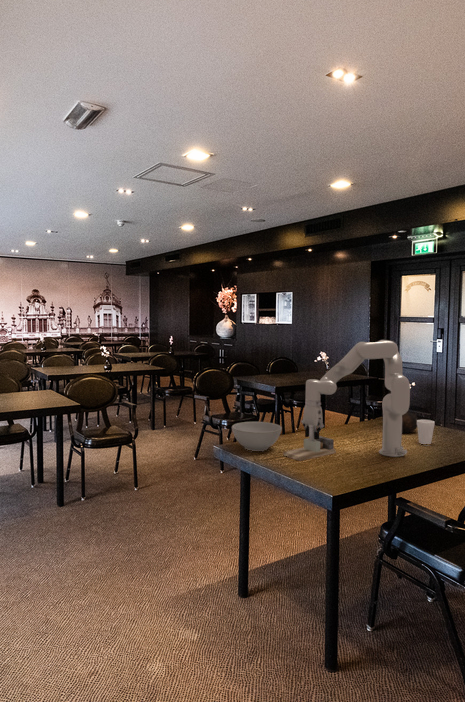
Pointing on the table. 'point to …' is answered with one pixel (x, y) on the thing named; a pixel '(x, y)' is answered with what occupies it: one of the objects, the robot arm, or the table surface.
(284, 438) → the table surface
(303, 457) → the base
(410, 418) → the dark brown vase
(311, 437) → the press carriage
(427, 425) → the foam cup
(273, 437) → the decorative bowl
